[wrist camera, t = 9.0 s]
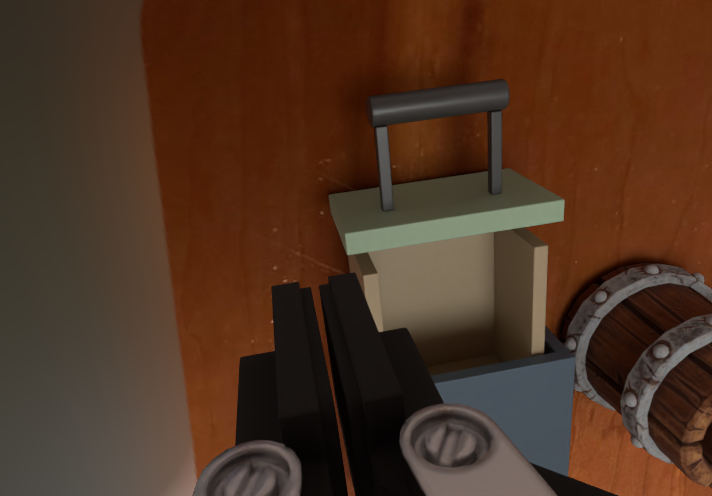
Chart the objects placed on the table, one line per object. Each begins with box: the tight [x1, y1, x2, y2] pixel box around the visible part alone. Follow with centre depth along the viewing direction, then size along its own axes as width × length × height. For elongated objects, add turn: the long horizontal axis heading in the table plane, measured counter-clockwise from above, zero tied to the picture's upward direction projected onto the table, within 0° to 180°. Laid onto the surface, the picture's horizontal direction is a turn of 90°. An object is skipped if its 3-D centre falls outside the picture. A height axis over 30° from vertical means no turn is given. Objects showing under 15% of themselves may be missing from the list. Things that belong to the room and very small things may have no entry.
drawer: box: [329, 79, 564, 376], centre depth 32 cm, size 20×11×7 cm, turn 6°
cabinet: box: [431, 326, 575, 477], centre depth 37 cm, size 15×13×9 cm
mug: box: [562, 263, 712, 488], centre depth 36 cm, size 12×14×15 cm
